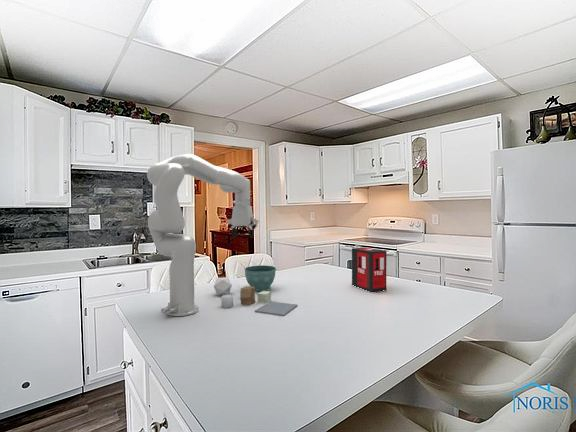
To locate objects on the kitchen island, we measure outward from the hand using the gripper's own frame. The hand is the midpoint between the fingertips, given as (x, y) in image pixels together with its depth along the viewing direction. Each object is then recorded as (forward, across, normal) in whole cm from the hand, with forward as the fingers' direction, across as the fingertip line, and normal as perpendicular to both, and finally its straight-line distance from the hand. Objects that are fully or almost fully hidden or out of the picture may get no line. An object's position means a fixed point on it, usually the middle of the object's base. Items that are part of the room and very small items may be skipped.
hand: (242, 237), depth 163 cm
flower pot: (+27, +6, +7) cm, 29 cm away
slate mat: (+27, +28, -20) cm, 43 cm away
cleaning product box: (+27, +58, +28) cm, 70 cm away
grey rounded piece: (+28, +6, -24) cm, 37 cm away
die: (+28, -6, -9) cm, 30 cm away
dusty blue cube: (+28, +8, -10) cm, 30 cm away
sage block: (+28, +18, -12) cm, 35 cm away
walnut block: (+27, +13, -17) cm, 35 cm away
